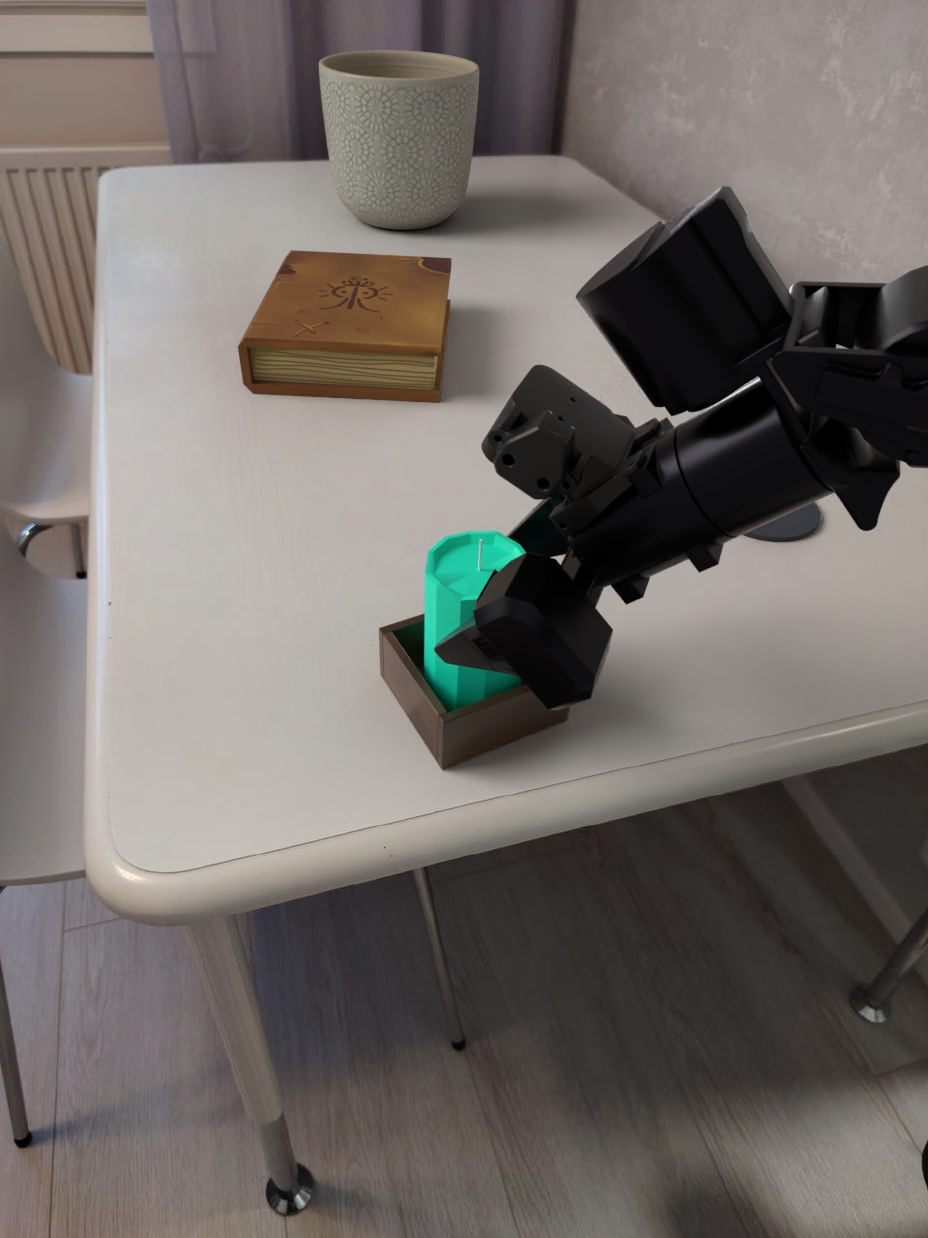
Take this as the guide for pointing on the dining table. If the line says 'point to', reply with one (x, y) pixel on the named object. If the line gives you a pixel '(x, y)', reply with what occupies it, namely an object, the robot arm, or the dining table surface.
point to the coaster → (789, 525)
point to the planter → (399, 133)
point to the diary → (351, 328)
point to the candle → (461, 611)
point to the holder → (463, 727)
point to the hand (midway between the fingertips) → (470, 602)
